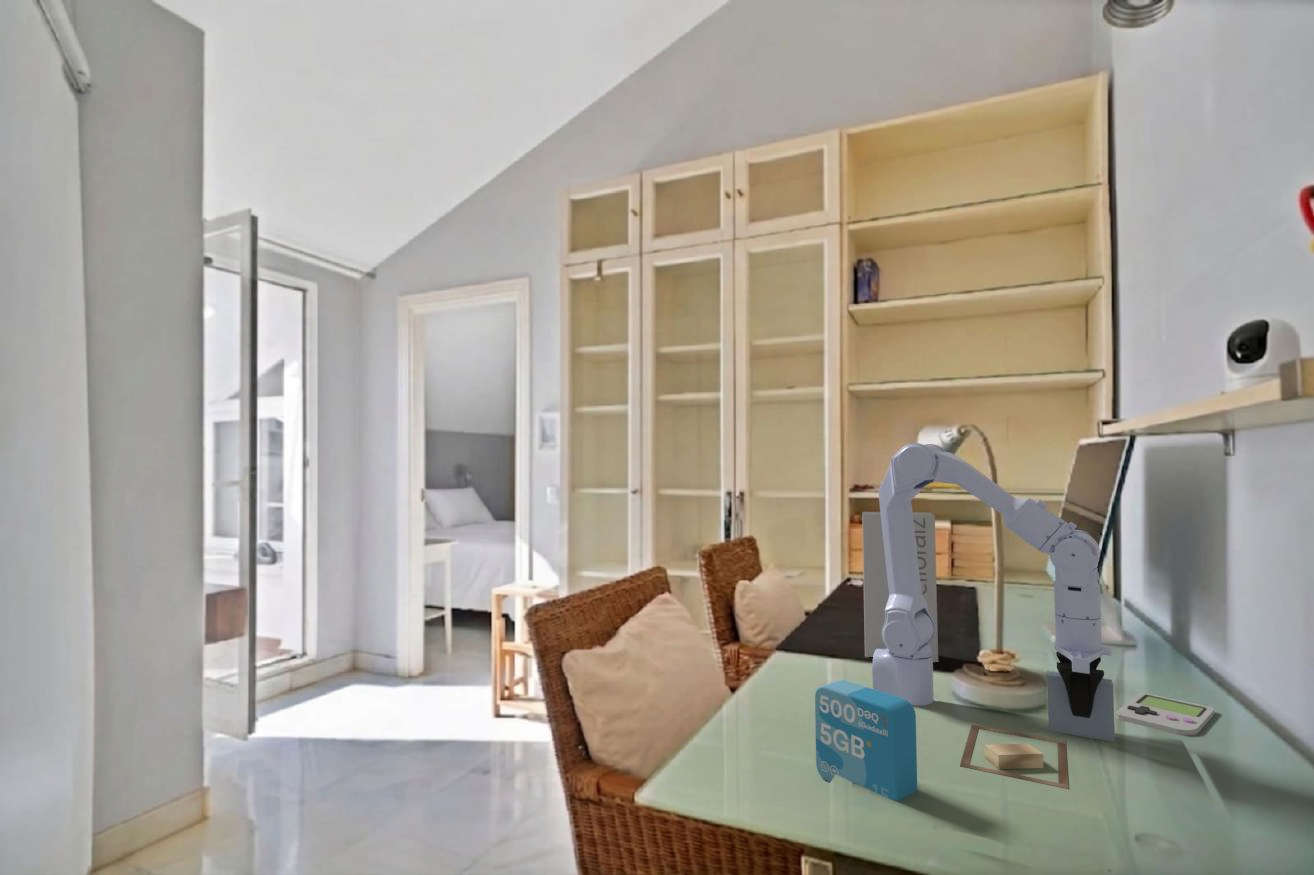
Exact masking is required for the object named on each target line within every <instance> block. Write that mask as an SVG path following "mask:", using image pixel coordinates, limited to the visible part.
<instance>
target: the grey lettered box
mask: <svg viewBox="0 0 1314 875" xmlns="http://www.w3.org/2000/svg"><path fill="white" fill-rule="evenodd" d="M861 515H862V518H861V519H862V520H861V521H862V568H863V570H862V571H863V574H862V575H863V612H864V613H863V616H864V617H863V618H864V619H863V620H864V622H863V623H864V628H863V629H864V657H865V658H869V657H873V655H874V652H875V650H876V649H887V647H886V645H885V644H884V642H883V639H882V628H883V625H884V623H885V608H886V605H887V602H888V598H889V587H888V578H887V568H886V559H885V550H884V540H883V531H882V522H881V512H880V511H862V513H861ZM913 521H914V530H915V539H916V548H917V556H918V565H919V574H920V583H921V592H922V594H923V596H924V598H925V600H926V601H927V607H928V611H929V613H930V615H931V617H932V618H933V620H934V622H935V627H936V632H935V635H934V637H933V639H932V640H931V641H930V642H929V645H930V648H931V649H932V652H933V654H932V655H933V663H935V662H938V663H939V644H938V643H939V638H938V637H939V636H938V635H939V634H938V601H937V600H938V599H937V598H938V597H937V594H938V592H937V590H938V589H937V556H936V554H937V553H936V514H933V513H932V512H913Z"/></svg>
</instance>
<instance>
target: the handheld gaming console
mask: <svg viewBox="0 0 1314 875" xmlns="http://www.w3.org/2000/svg"><path fill="white" fill-rule="evenodd" d="M1214 716H1215V708H1214V707H1211V706H1207V705H1202V704H1198V703H1193V702H1191V701H1189V702H1188V701H1184V700H1180V699H1175V698H1170V697H1167V696H1166V697H1165V696H1161V695H1157V694H1153V693H1148V692H1139V693H1138V694H1136V695H1135V696H1134V697H1133V698H1131V700H1129V701H1128V702H1127V703H1124V705H1122V706H1121V707H1120V708H1119V709H1117V710H1116V711H1115V719H1117V720H1119V721H1123V722H1127V723H1131V724H1134V725H1138V726H1143V727H1146V728H1149V729H1150V728H1151V729H1155V730H1158V731H1162V732H1166V733H1171V734H1175V735H1178V736H1179V735H1181V736H1195V735H1197V734H1199V732H1201V730H1202V729H1203V728H1204V727H1205V726H1206V725H1207V723H1208V722H1210V720H1211V719H1212V718H1213V717H1214Z"/></svg>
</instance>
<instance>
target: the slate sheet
mask: <svg viewBox="0 0 1314 875" xmlns="http://www.w3.org/2000/svg"><path fill="white" fill-rule="evenodd" d="M1046 682H1047V683H1046V684H1047V711H1048V712H1047V714H1048V716H1047V718H1048V722H1047V723H1048V731H1049V732H1054V733H1060V734H1066V735H1072V736H1078V737H1083V738H1084V737H1085V738H1089V739H1095V740H1100V741H1106V742H1112V743H1115V742H1116V737H1115V736H1116V734H1115V707H1114V706H1115V704H1114V700H1115V699H1114V684H1113V680H1112V679H1110V678H1104V677H1103V678H1102V680H1101V681H1100V683H1099V685H1098V687H1097V690H1096V693H1095V697H1094V703H1093V708H1092V713H1091V716H1090V718H1085V717H1079V716H1073V714H1072V711H1071V708H1070V704H1069V699H1068V694H1067V690H1066V686H1065V684H1064V681H1063V679H1062V677H1061V675H1060V673H1059V671H1057V672H1055V671H1049V670H1046Z"/></svg>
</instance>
